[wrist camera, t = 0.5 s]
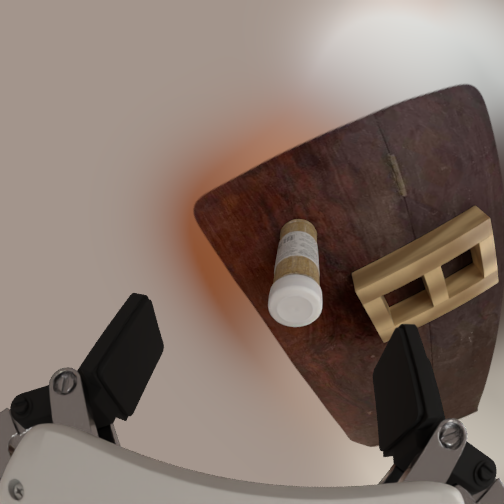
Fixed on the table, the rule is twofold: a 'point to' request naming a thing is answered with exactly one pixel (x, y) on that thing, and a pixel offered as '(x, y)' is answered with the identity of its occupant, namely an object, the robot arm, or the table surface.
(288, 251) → the sprinkles bottle
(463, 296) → the holder
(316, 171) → the table surface
